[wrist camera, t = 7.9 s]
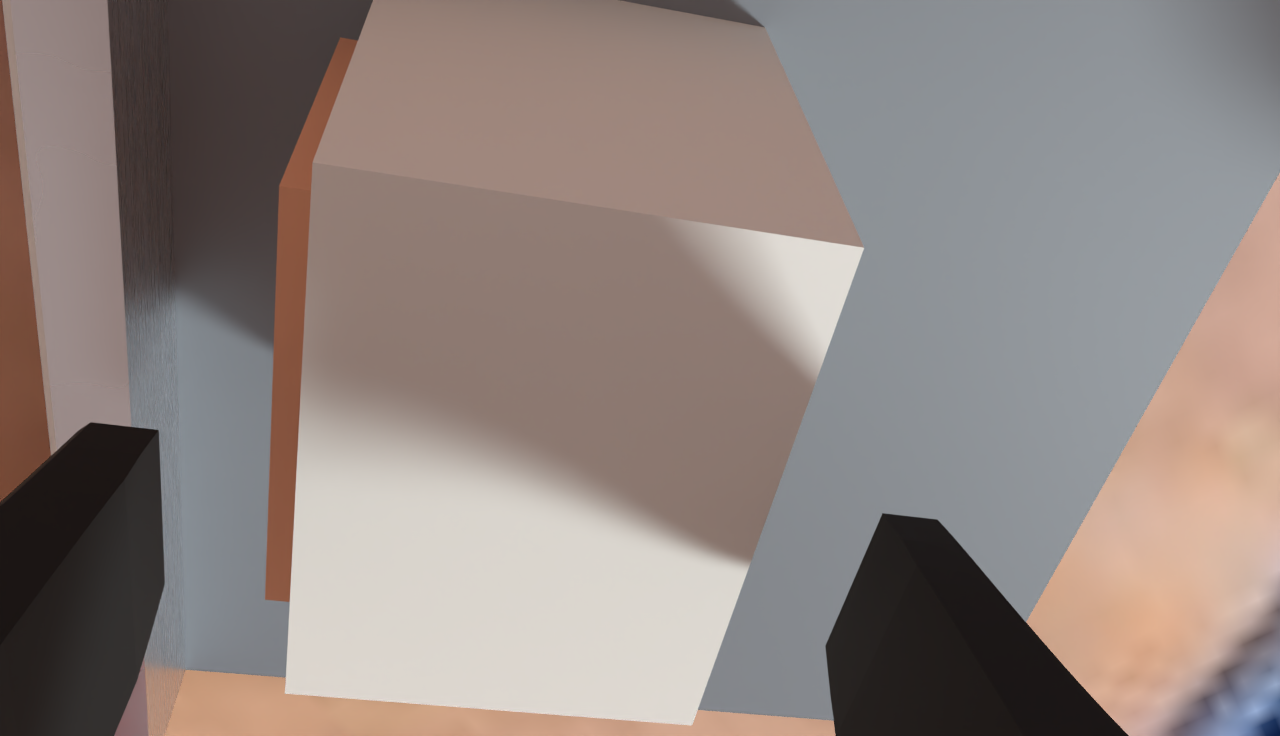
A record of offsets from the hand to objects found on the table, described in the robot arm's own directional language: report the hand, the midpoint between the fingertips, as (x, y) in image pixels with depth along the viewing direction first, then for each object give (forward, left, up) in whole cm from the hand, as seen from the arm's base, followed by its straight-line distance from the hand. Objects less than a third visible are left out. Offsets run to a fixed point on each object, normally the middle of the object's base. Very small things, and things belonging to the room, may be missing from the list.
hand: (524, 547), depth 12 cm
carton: (0, 0, -7) cm, 7 cm away
